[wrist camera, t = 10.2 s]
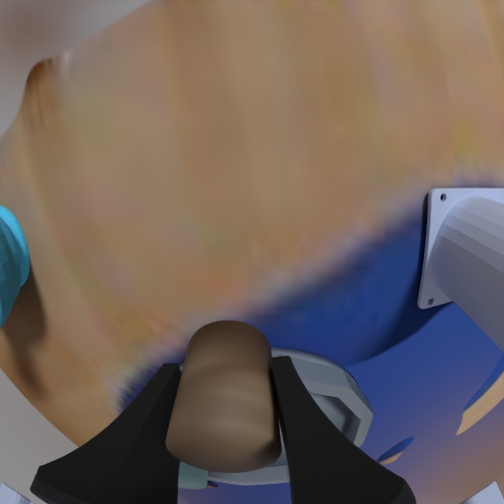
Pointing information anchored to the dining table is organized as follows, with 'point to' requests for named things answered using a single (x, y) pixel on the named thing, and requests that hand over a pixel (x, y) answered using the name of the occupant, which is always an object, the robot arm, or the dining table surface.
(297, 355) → the tray
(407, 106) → the dining table surface
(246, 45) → the dining table surface
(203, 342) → the bead walnut
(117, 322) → the dining table surface
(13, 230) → the perfume bottle
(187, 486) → the bead teal
